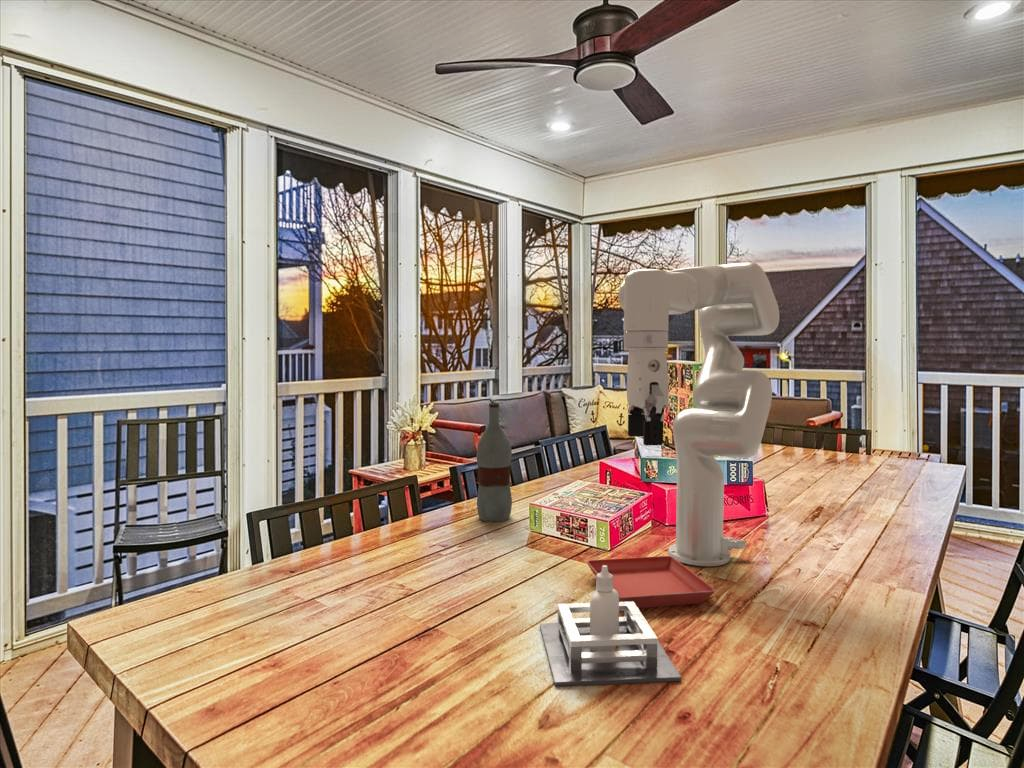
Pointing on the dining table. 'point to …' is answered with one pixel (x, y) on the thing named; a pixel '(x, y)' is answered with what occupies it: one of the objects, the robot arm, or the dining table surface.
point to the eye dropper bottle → (604, 609)
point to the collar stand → (623, 665)
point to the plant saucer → (654, 581)
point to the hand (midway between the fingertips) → (644, 440)
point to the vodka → (494, 470)
